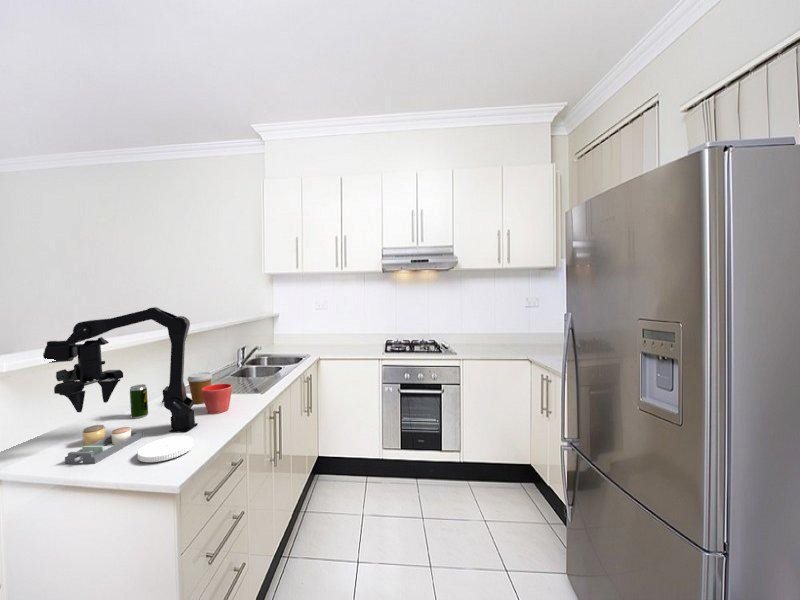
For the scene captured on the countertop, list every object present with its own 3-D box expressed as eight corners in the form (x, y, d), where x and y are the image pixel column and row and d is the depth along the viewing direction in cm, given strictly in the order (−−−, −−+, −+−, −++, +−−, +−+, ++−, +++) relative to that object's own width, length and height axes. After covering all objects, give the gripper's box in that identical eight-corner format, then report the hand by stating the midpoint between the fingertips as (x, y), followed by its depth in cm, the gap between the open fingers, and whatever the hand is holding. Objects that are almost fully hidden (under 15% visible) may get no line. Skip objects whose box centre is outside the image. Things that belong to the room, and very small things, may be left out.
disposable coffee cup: (205, 405, 150) (204, 377, 149) (183, 405, 150) (182, 377, 149) (217, 398, 159) (216, 371, 159) (196, 398, 159) (195, 372, 159)
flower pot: (212, 406, 148) (211, 383, 148) (237, 405, 148) (236, 383, 147) (196, 415, 138) (195, 390, 137) (224, 415, 137) (223, 390, 137)
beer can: (130, 420, 135) (128, 389, 134) (131, 416, 139) (130, 385, 138) (148, 417, 137) (146, 386, 137) (148, 413, 142) (146, 383, 141)
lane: (143, 436, 119) (143, 427, 119) (94, 463, 101) (94, 453, 101) (118, 436, 119) (117, 427, 119) (65, 463, 101) (64, 453, 101)
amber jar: (110, 439, 118) (109, 424, 117) (95, 446, 112) (94, 431, 112) (94, 439, 118) (93, 424, 118) (78, 446, 112) (77, 431, 112)
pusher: (104, 454, 106) (104, 445, 106) (86, 464, 100) (85, 455, 100) (84, 454, 106) (84, 445, 106) (65, 464, 100) (64, 455, 100)
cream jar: (135, 438, 118) (134, 426, 118) (122, 445, 113) (122, 432, 113) (120, 438, 118) (120, 426, 118) (107, 445, 113) (107, 432, 113)
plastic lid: (125, 464, 101) (124, 455, 101) (165, 442, 115) (165, 434, 115) (168, 467, 99) (167, 458, 98) (204, 444, 112) (203, 436, 112)
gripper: (92, 354, 124) (95, 398, 125) (35, 366, 105) (38, 418, 106) (123, 353, 123) (125, 397, 124) (70, 366, 105) (73, 417, 105)
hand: (93, 407), depth 115 cm, fingers open, 9 cm apart
